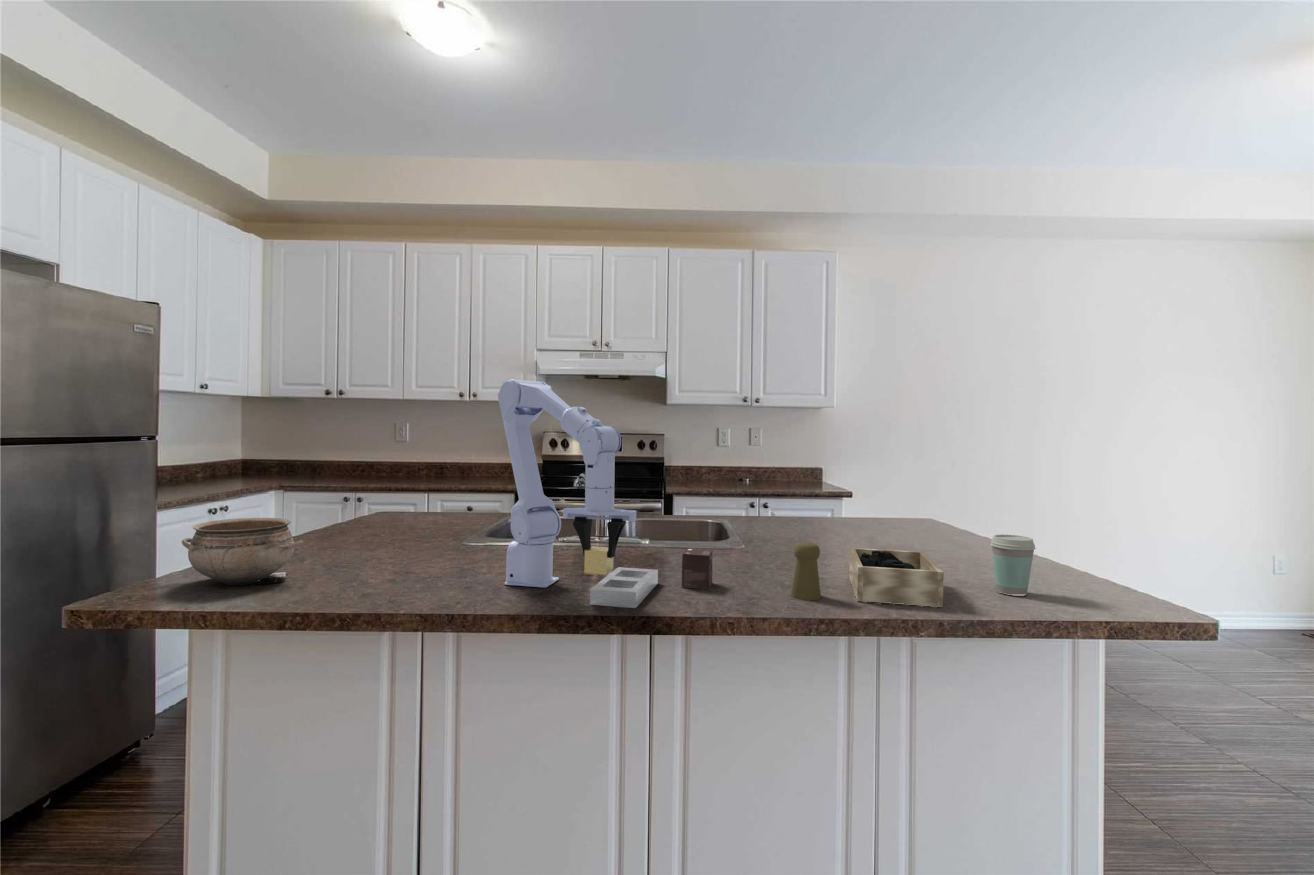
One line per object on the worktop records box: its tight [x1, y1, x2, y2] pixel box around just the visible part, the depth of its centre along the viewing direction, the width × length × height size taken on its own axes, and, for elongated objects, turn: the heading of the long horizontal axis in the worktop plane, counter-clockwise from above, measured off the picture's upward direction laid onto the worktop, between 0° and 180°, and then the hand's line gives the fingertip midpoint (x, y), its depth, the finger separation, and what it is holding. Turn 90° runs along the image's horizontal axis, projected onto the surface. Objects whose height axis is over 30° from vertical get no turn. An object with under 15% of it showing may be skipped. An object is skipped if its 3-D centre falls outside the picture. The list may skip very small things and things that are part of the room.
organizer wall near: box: [862, 566, 938, 606], centre depth 131 cm, size 14×1×7 cm, turn 78°
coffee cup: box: [990, 534, 1037, 594], centre depth 141 cm, size 8×8×12 cm
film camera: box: [859, 551, 915, 569], centre depth 139 cm, size 15×10×9 cm, turn 19°
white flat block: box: [589, 566, 659, 609], centre depth 135 cm, size 9×20×3 cm, turn 168°
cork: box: [790, 541, 822, 601], centre depth 136 cm, size 6×6×11 cm
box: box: [681, 548, 713, 590], centre depth 143 cm, size 6×6×7 cm
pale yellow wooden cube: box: [583, 545, 614, 576], centre depth 130 cm, size 4×4×4 cm
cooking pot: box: [181, 517, 304, 586], centre depth 139 cm, size 25×19×12 cm
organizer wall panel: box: [848, 547, 863, 602], centre depth 142 cm, size 1×21×7 cm, turn 168°
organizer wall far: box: [854, 547, 921, 570], centre depth 150 cm, size 14×1×7 cm, turn 78°
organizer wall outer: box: [919, 551, 945, 607], centre depth 139 cm, size 1×21×7 cm, turn 168°
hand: (599, 556), depth 130 cm, fingers closed on pale yellow wooden cube, 4 cm apart
